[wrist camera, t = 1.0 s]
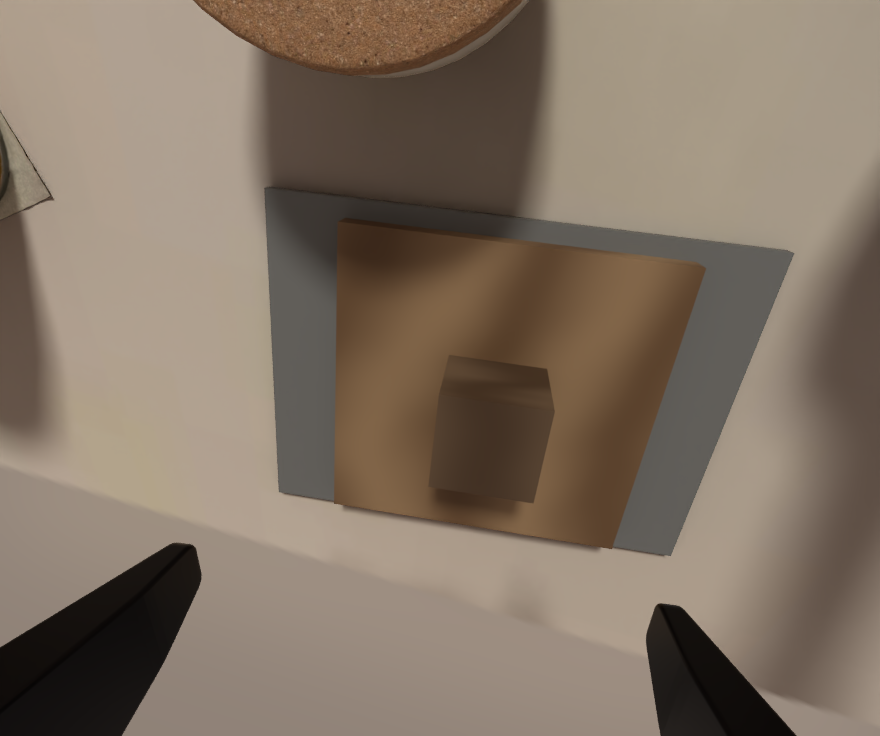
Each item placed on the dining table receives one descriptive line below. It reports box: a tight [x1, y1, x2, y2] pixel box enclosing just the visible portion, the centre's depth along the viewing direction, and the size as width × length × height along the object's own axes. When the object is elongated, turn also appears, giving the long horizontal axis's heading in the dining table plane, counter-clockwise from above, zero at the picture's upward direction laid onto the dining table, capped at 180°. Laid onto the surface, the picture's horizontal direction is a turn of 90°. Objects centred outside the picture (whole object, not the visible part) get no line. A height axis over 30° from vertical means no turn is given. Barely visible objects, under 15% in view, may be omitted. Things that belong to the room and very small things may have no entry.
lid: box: [334, 218, 706, 549], centre depth 20 cm, size 14×14×4 cm
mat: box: [265, 187, 794, 556], centre depth 22 cm, size 20×15×1 cm
